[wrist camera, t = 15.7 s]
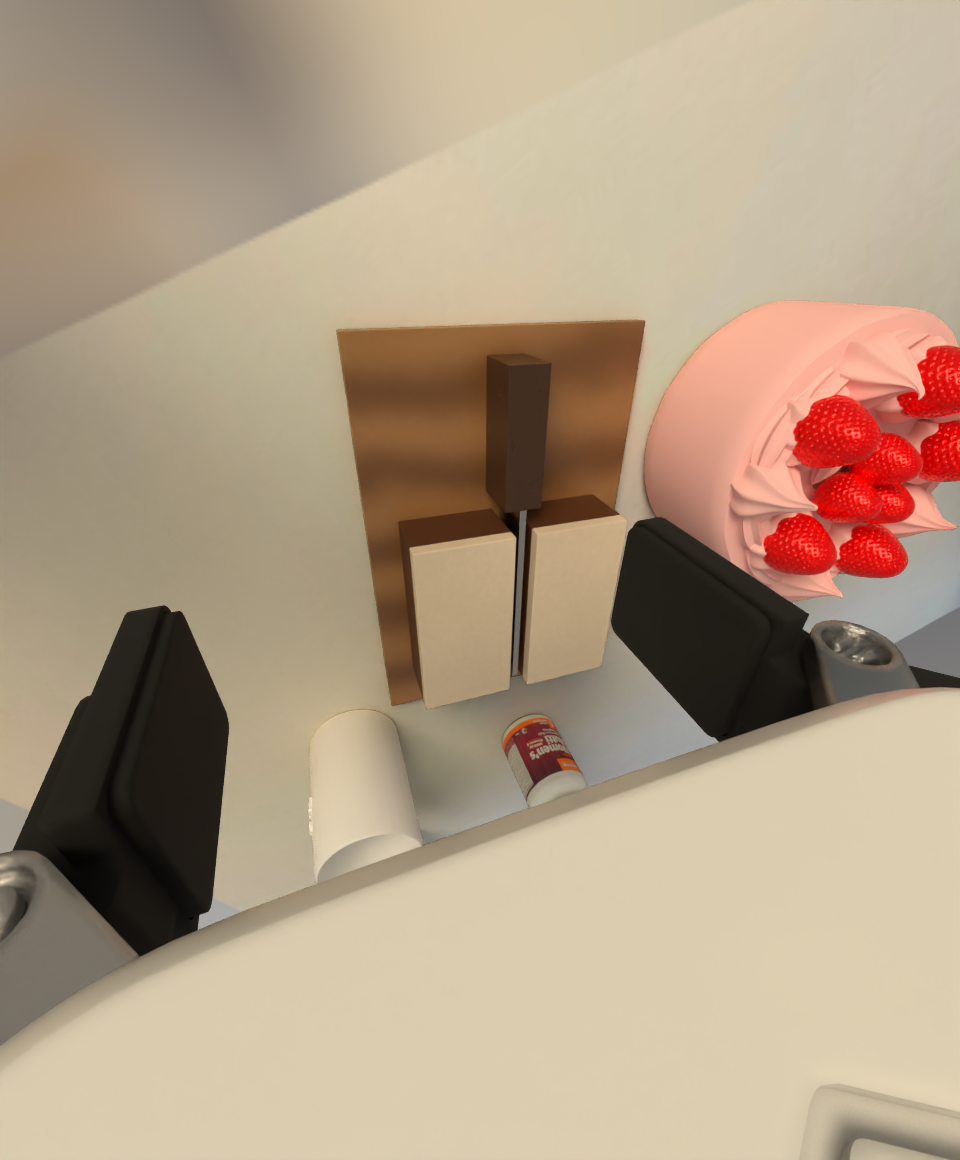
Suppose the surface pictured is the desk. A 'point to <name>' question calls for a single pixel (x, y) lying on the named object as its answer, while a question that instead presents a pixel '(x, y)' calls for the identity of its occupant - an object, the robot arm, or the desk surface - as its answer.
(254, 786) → the desk surface
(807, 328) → the cake
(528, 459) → the knife
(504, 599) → the cake
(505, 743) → the pill bottle
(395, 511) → the cake board
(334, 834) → the mug
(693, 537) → the robot arm
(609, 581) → the cake
